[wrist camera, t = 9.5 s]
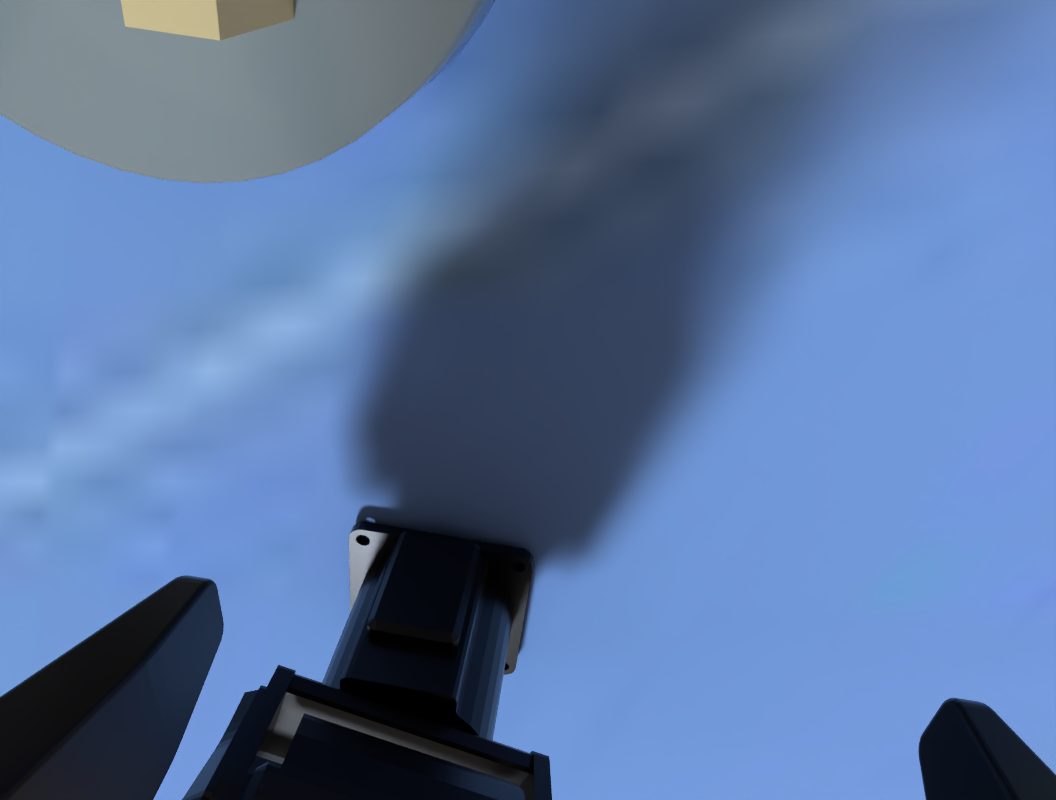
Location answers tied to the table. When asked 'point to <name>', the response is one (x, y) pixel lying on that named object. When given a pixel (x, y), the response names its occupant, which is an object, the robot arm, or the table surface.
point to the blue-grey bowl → (219, 77)
